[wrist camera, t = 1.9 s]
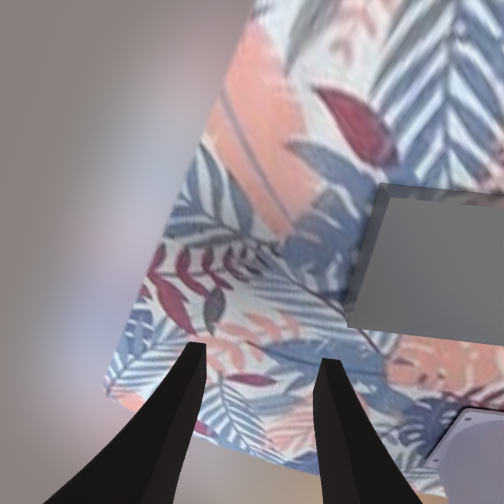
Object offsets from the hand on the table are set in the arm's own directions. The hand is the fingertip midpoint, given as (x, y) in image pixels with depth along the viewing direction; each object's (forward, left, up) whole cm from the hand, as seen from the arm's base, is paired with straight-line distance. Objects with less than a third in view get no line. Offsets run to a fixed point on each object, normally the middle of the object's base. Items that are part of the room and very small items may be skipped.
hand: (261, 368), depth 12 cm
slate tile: (0, -12, -10) cm, 15 cm away
